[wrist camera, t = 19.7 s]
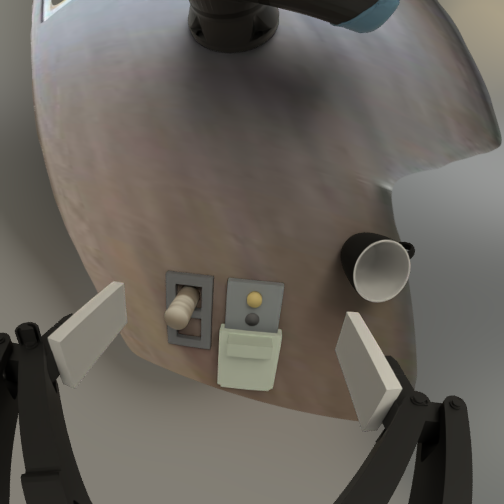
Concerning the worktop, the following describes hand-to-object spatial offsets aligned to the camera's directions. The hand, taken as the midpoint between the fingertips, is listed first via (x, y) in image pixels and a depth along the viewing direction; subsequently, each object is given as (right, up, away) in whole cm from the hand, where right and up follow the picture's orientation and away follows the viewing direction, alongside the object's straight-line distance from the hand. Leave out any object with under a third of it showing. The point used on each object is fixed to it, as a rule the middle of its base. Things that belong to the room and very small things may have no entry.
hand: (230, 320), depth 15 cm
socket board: (-10, -6, +32) cm, 34 cm away
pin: (-9, -3, +31) cm, 33 cm away
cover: (0, -15, +32) cm, 36 cm away
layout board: (+1, -7, +32) cm, 32 cm away
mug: (+20, +4, +28) cm, 35 cm away
